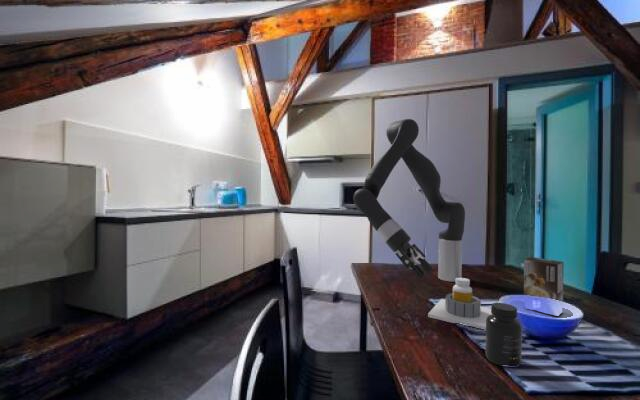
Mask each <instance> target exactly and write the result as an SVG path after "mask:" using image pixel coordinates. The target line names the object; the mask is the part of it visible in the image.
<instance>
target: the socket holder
mask: <svg viewBox="0 0 640 400" xmlns="http://www.w3.org/2000/svg"><path fill="white" fill-rule="evenodd" d="M481 303H482V300H481V299H479V298H478V297H476V296H474V295H472V303H466V302H459V301H456V300H453V292H452V293H447V294H446V295H445V298H440V299H439V301H438V302H437V303H436V304H435V305H434V306H433V308H431V310H430V311H429V312H428V313H427V317H428V318H431V319H436V320H439V321H443V322H448V323H452V324H455V323H462V324H466V325H469V326H473V327H476V328H481V329H485V330H486V319H487V317H488V316H489V315H491V314H492V313H491V307H486V306H482V305H481ZM476 328H475V329H476ZM485 330H484V331H485Z"/></svg>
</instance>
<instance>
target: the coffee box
mask: <svg viewBox="0 0 640 400" xmlns="http://www.w3.org/2000/svg"><path fill="white" fill-rule="evenodd" d="M523 262H524V263H523V264H524V265H523V296H524V295H530V296H539V297H545V298H551V299H555V300H559V301H563V302H564V261H561V260H554V259H553V260H552V259H549V258H547V259H546V258H540V257H532V256H530V257H526V258H525V259H524V261H523Z"/></svg>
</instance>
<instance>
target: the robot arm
mask: <svg viewBox="0 0 640 400" xmlns="http://www.w3.org/2000/svg"><path fill="white" fill-rule="evenodd" d="M419 130H420V128H419V124H418V122H416V120H414V119H412V118H406V119H402V120H397V121H394V122H392V123H390V124H388V126H387V128H386V137H387V140H388V142H389V143H390V147H388V149H387V150H386V151H385V152H384V153H383V154H382V155H381V156H380V157H379V158H378V159H377V160H376V161H375V162H374V164H373V166H371V169H369V171H368V174H367V175H366V177H365V179H364V184H363V187H362V188H359V189H357V190H356V191H355V192H354V193H353V198H352V199H353V204H354V206H355V208H356V210H357V211H358V212H360V213H363V214H364V216H366V218H367V220H368V222H369V223H370V226H372V227H373V228H374V229H375V231H376V233H378V235H379V237H380V238H381V239H382V240H383V241H384V243H385V244H386V245H387V246H388V248H389V249H390V250H391V251H392V252H393V253H395V255H396V257H397V259H399V261H400V262H401V263H402V264H403V265H404V266H405V268H406V269H407V270H408V269H410V270H412V271H413V273H414V274H415V275H416V276H417V277H418V278H419V279H422V278H423V277H424V276H426V273H430V272H432V270H433V269H434V268H433V266H432V265H431V264H430V263H429V262H428V261H427V260H426V257H427V256H426V255H425V253H423V251H422V250H421V249H420V248H419V247H418V246H417V244H415V243H412V244H410V241H411V236H410V235H409V234H408V233H407V232H406V231H405V230H404V229H403V228H402V226H401V225H400V224H399V223H398V222H397V221H396V220H395V219H394V218H393V217H392V216H391V214H389V213H388V212H387V211H386V210H385V209H384V208H383V207H382V205H381V203H380V202H379V200H378V197H379V194H380V192H381V190H382V189H383V187H384V185H385V184H386V182H387V181H388V178H389V177H390V174H391V173H392V171H393V170H394V168H395V167H396V166H397V164H398V163H399V162H400V160H401V159H402V161H403V162H404V163H405V165H406V167H407V168H408V170H409V171H410V173H411V175H412V176H413V178H414V180H415V182H416V183H417V185H418V186H419V188H420V189H421V191H422V192H423V195H424V197H425V198H426V199H427V202H428V203H429V205H430V208H431V210H432V213H433V215H434V216H435V218H436V219H437V221H438V222H440V223H442V224H443V223H444V224H448V225H447V228H446V229H445V230H442V231H439V233H438V258H437V259H438V267H437V269H438V270H437V271H438V272H437V277H438V279H440V280H441V281H446V282H453V283H455V279H456V278H462V268H463V267H462V265H463V264H462V261H463V260H462V259H463V258H462V255H463V236H464V232H465V222H466V221H465V220H466V219H465V218H466V209H465V207H464V204H462V203H461V202H455V201H446V200H445V199H444V197H443V196H442V194H441V183H442V182H441V180H442V179H441V174H440V173H439V171H438V169H437V168H436V166H435V164H434V163H433V161H431V159H429V158H428V157H426V155H424V154H423V153H421V152H420V151H419V150H417V148H415V146H414V145H413V144H414V142H415V141H416V139H418V136H419V132H420V131H419ZM417 263H418V264H417ZM420 266H421V267H422V268H421V267H420ZM423 269H424V270H423ZM425 271H426V272H425Z"/></svg>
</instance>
